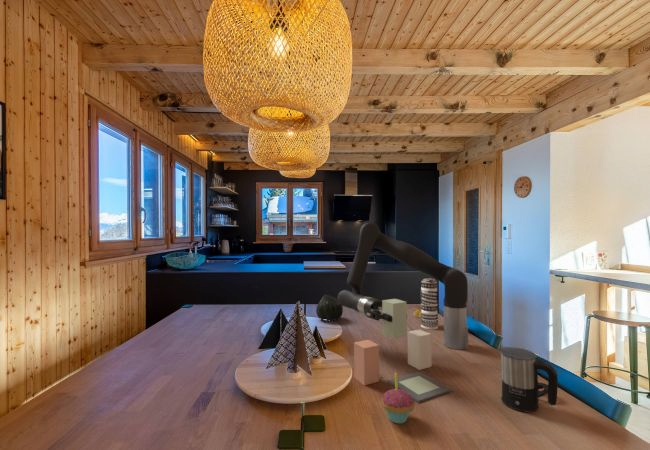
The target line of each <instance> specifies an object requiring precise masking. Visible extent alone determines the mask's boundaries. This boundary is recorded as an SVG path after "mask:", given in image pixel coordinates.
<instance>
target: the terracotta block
mask: <svg viewBox="0 0 650 450" xmlns="http://www.w3.org/2000/svg"><path fill="white" fill-rule="evenodd" d="M353 361H354V363H353V370H354V371H353V375H354V377H353V378H354V379H355V380H357V382H360V384H362V385H363V386H367V385H370V384H374V383H376V382H377V383H378V382H380V345H379V344H378V343H376V342H374V341H372V340H370V339H365V340H360V341H355V342H353Z"/></svg>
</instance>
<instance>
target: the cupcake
mask: <svg viewBox="0 0 650 450" xmlns="http://www.w3.org/2000/svg"><path fill="white" fill-rule="evenodd" d="M394 378H395V387H394V388H392V389H389V390H386V391H385V392H384V393H383V395H382V397H381V404H382V406H383V408H384V409H385V412H386V414H387V417H388V419H389V420H390V422H392V423H395V424H403V423H405V422H407V421H408V416H409V413H410V412H412V411H413V410H414V407H415V400H413V398H412V397H411V396H410V394H409V393H407V392H405V391H403V390H401V389H398V383H397V378H398V372H397V370H396V369H395V370H394Z"/></svg>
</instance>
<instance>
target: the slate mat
mask: <svg viewBox="0 0 650 450" xmlns="http://www.w3.org/2000/svg"><path fill="white" fill-rule="evenodd" d="M387 383H388V384H390V385H391V386H393V387H394V388H395V377H394V378H392V379H388V380H387ZM397 383H398V389H401V390H403V391H405V392H407V393H409V394H410V396H411V397H412V398H413V400H414V402H417V403H418V404H419V403H421V402H424V401H427V400H430V399H433V398H436V397H439V396H442V395H445V394H447V393H451V392H453V390H452V388H451V387H449V386H447V385H445V384H443V383H441V382H439V381H438V380H437V379H434V378H432V377H431V376H428V375H426V374H424V373H423V372H421V371H416V372H412V373H409V374H405V375H402V376H397Z"/></svg>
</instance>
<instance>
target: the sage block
mask: <svg viewBox="0 0 650 450" xmlns="http://www.w3.org/2000/svg"><path fill="white" fill-rule="evenodd" d="M381 301H382V312H384V314H385V313H386V314H388V315H391V316H392V322H388V321H386V320H381V321H382V335H384V336H386V337H389V338H391V339H398V338H404V337H408V334H407V332H408V323H407V321H408V314H407V313H408V312H407V308H408V307H407V306H408V305H407V301H406V300H405V301H404V300H401V299H398V298H390V299H383V300H381Z"/></svg>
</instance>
